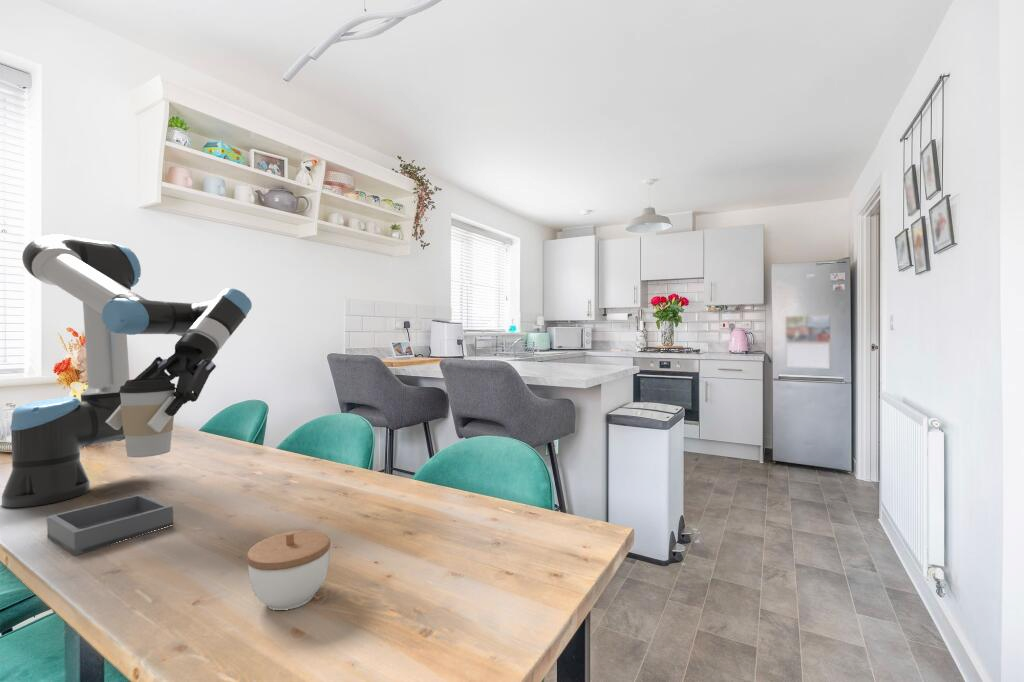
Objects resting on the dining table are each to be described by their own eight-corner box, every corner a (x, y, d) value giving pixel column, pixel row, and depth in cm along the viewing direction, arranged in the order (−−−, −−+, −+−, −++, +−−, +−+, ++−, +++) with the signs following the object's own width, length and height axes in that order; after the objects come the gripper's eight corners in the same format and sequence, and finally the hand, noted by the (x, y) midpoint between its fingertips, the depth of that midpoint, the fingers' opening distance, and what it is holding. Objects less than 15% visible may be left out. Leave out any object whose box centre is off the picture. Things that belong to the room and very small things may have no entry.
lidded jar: (268, 581, 72) (267, 520, 72) (339, 577, 73) (338, 517, 73) (232, 623, 61) (231, 552, 61) (317, 618, 62) (316, 548, 62)
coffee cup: (146, 460, 88) (145, 380, 88) (106, 457, 89) (105, 379, 89) (188, 448, 97) (187, 376, 96) (151, 446, 98) (150, 375, 98)
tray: (47, 537, 90) (47, 516, 90) (141, 512, 102) (141, 493, 102) (74, 555, 82) (74, 532, 82) (173, 526, 94) (172, 506, 94)
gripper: (253, 354, 106) (192, 440, 90) (172, 353, 110) (101, 435, 95) (234, 330, 100) (166, 418, 85) (150, 330, 105) (71, 413, 89)
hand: (132, 427), depth 90 cm, fingers closed on coffee cup, 9 cm apart
